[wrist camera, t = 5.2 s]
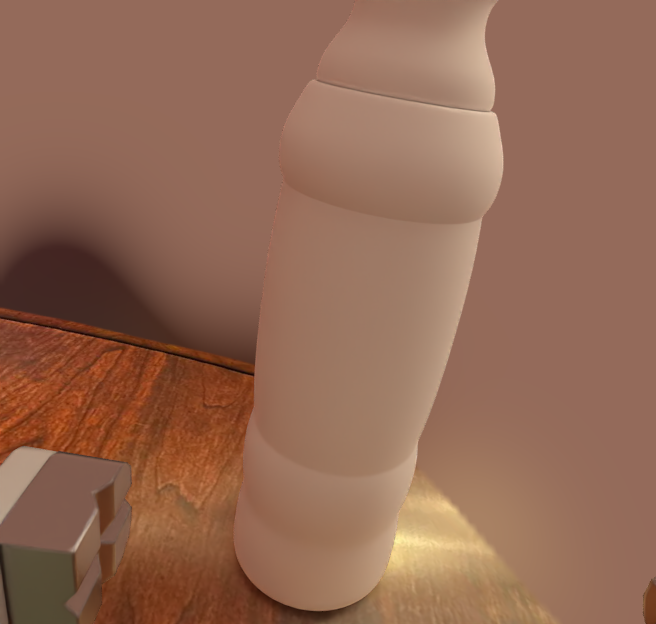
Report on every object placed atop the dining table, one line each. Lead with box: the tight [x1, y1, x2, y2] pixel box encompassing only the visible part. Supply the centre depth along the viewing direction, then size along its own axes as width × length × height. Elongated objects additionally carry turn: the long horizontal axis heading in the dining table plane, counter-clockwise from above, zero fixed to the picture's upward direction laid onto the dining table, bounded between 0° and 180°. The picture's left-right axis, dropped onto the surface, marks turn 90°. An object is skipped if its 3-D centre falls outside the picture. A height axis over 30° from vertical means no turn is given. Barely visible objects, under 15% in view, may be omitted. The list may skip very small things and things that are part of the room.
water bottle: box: [234, 0, 503, 611], centre depth 19 cm, size 7×7×25 cm
